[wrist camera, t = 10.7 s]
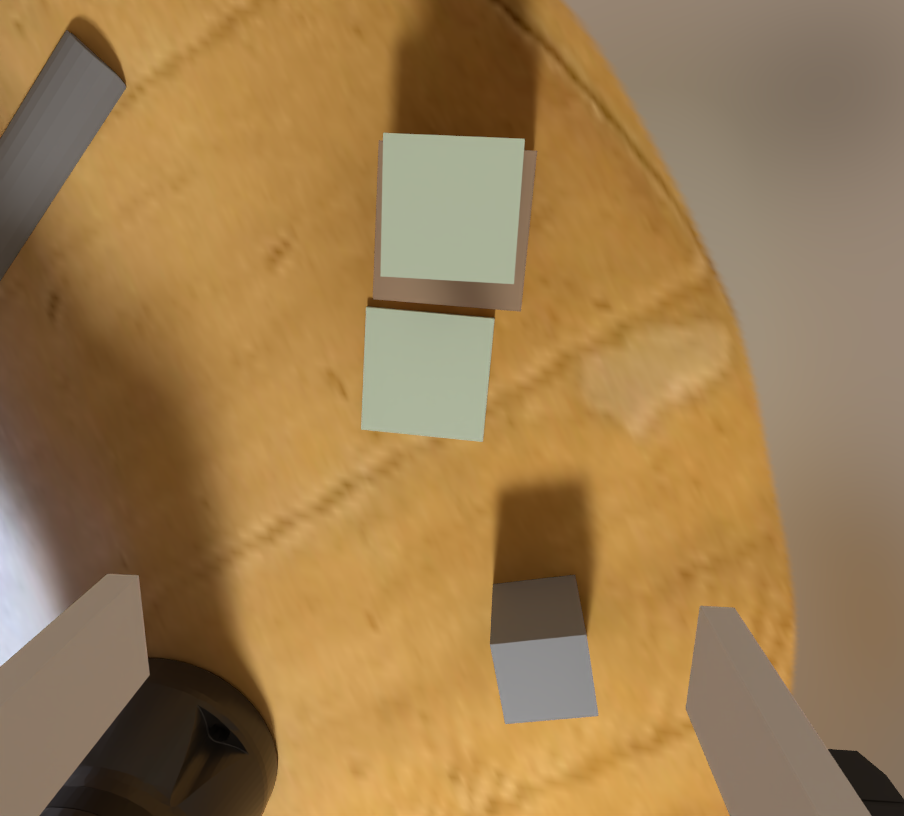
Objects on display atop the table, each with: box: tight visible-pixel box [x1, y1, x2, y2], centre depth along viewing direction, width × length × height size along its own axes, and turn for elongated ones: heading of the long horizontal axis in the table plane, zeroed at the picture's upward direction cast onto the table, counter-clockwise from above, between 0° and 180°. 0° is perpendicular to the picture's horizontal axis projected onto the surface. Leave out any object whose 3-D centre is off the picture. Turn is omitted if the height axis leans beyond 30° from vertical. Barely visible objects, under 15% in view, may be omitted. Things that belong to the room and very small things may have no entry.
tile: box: [361, 306, 495, 442], centre depth 36 cm, size 7×7×1 cm
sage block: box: [380, 133, 525, 284], centre depth 26 cm, size 5×5×6 cm
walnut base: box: [373, 140, 537, 311], centre depth 32 cm, size 7×7×5 cm
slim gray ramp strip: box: [0, 30, 126, 281], centre depth 35 cm, size 4×20×2 cm, turn 138°
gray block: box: [490, 575, 598, 724], centre depth 37 cm, size 5×5×6 cm
